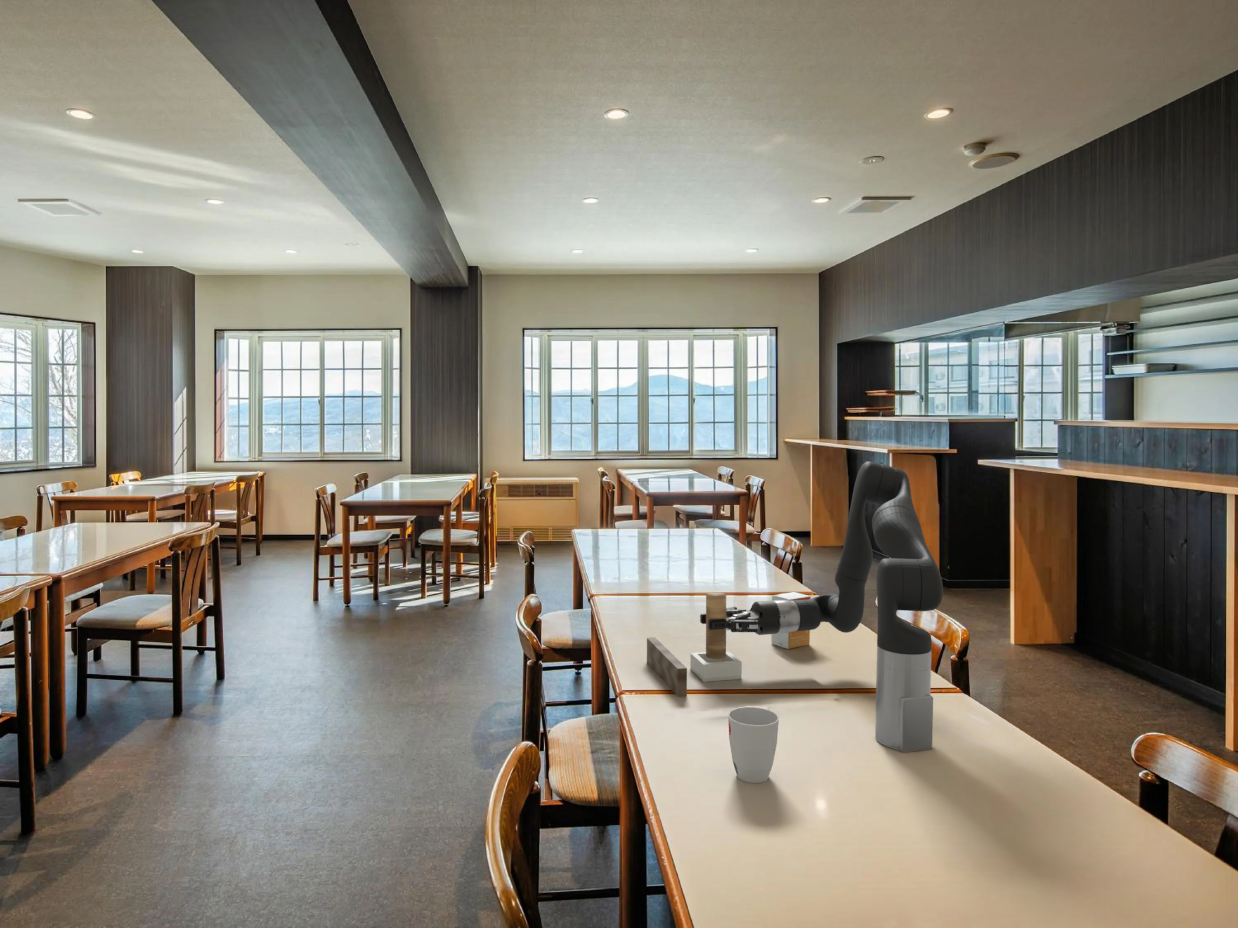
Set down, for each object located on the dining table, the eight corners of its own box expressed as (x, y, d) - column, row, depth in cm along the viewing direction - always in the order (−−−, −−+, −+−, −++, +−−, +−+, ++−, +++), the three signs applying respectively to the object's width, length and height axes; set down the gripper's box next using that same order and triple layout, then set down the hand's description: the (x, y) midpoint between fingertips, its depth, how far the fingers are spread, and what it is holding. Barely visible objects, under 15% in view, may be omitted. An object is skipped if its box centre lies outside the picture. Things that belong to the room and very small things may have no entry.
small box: (788, 649, 197) (789, 599, 197) (770, 643, 203) (771, 594, 202) (810, 644, 202) (811, 595, 201) (792, 639, 207) (793, 591, 206)
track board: (766, 694, 164) (766, 662, 164) (676, 702, 159) (676, 668, 159) (725, 661, 187) (725, 632, 187) (645, 666, 183) (645, 637, 182)
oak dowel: (728, 658, 172) (729, 596, 172) (709, 659, 171) (710, 597, 171) (721, 652, 177) (722, 591, 176) (703, 653, 176) (703, 592, 175)
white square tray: (741, 678, 171) (741, 661, 171) (703, 681, 169) (703, 664, 168) (726, 666, 179) (726, 650, 179) (690, 669, 177) (690, 652, 177)
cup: (743, 760, 132) (744, 703, 131) (786, 774, 126) (787, 714, 126) (718, 777, 125) (718, 716, 125) (762, 792, 120) (763, 729, 120)
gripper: (762, 593, 184) (694, 598, 180) (789, 608, 170) (715, 613, 166) (762, 625, 184) (694, 629, 180) (788, 641, 170) (715, 647, 166)
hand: (704, 621), depth 173 cm, fingers closed on oak dowel, 4 cm apart
